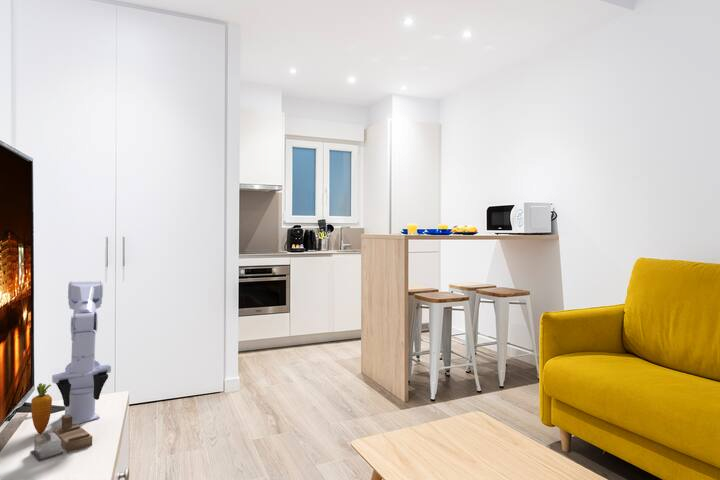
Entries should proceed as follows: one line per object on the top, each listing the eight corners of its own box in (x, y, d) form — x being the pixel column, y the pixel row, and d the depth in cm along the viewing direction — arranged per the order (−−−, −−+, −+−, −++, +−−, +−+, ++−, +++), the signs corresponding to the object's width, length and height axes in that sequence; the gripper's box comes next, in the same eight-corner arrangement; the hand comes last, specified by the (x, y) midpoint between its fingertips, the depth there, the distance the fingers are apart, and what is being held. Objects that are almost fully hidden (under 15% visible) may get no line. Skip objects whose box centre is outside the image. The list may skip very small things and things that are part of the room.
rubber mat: (30, 452, 120) (30, 451, 120) (54, 445, 124) (54, 444, 124) (38, 461, 115) (39, 460, 115) (63, 454, 119) (63, 452, 119)
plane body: (52, 438, 128) (53, 417, 128) (76, 431, 132) (76, 411, 132) (67, 452, 120) (68, 430, 120) (92, 445, 125) (92, 423, 125)
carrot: (32, 432, 131) (34, 381, 131) (52, 429, 133) (54, 379, 133) (27, 439, 126) (29, 386, 126) (48, 437, 128) (50, 385, 128)
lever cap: (34, 451, 120) (34, 435, 120) (53, 445, 123) (54, 429, 123) (40, 459, 116) (41, 442, 116) (60, 453, 119) (61, 437, 119)
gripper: (59, 362, 120) (57, 413, 120) (115, 353, 131) (114, 399, 132) (50, 357, 125) (48, 406, 125) (105, 348, 136) (104, 393, 136)
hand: (81, 402), depth 128 cm, fingers open, 7 cm apart
